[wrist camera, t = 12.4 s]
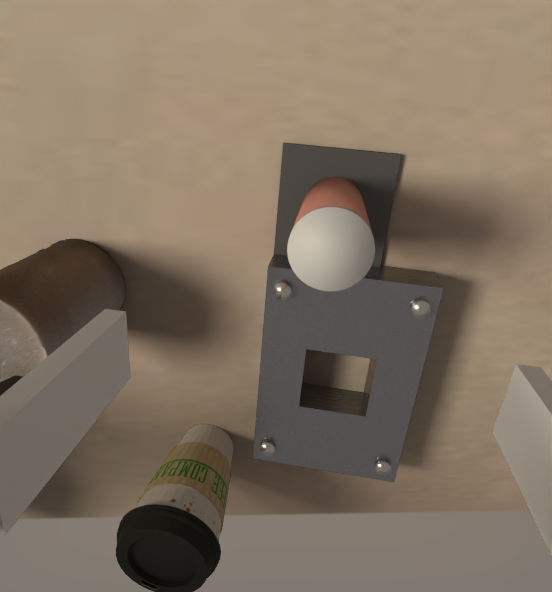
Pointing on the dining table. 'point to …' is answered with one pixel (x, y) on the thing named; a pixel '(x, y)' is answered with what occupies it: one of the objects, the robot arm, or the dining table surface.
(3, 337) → the pillar candle
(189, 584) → the coffee cup
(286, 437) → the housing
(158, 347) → the dining table surface
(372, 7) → the dining table surface
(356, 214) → the pink round peg
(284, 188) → the mat
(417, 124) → the dining table surface
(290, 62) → the dining table surface
